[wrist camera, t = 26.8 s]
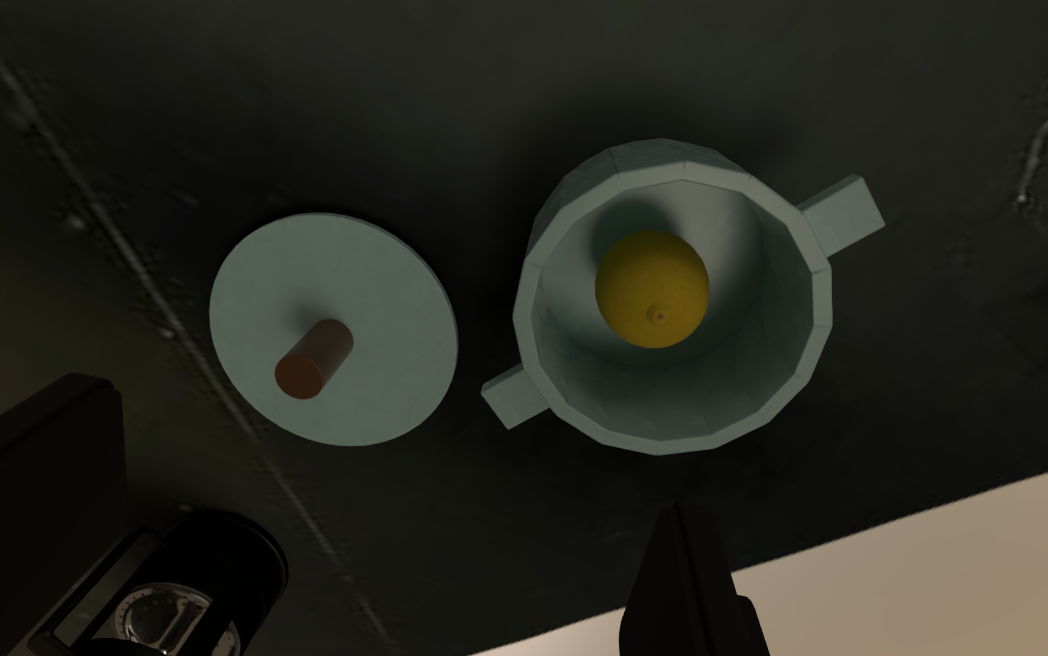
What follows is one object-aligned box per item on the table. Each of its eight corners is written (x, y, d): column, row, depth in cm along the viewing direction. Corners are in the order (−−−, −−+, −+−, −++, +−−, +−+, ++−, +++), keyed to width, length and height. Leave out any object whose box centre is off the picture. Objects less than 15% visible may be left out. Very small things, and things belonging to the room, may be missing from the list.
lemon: (714, 268, 35) (751, 323, 28) (635, 329, 37) (650, 396, 30) (651, 192, 34) (672, 229, 27) (572, 259, 36) (570, 311, 28)
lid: (169, 295, 39) (99, 335, 33) (355, 157, 35) (312, 177, 29) (326, 471, 43) (288, 534, 38) (508, 367, 39) (496, 420, 34)
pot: (442, 253, 37) (406, 306, 29) (751, 52, 32) (809, 50, 24) (569, 430, 41) (568, 519, 33) (863, 276, 35) (945, 338, 28)
